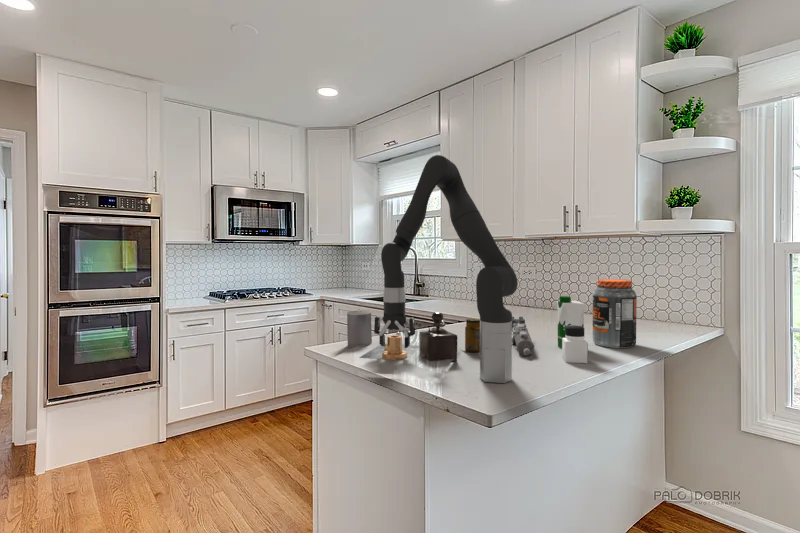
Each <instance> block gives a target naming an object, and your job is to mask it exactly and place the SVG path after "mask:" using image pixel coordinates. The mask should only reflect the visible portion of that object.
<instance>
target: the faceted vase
mask: <svg viewBox="0 0 800 533" xmlns="http://www.w3.org/2000/svg"><path fill="white" fill-rule="evenodd" d="M386 344H387V349H388V350H387V351H384V352H383V353H382V357H383V358H385V359H391V360H390V361H397V360H398V359H405V358H406V357H407V352H406V351H403V350H402V345H403V337H402V335H400V336H397V335H396V334H395V335H388V336H387V343H386ZM406 359H407V358H406ZM406 359H405V360H406Z"/></svg>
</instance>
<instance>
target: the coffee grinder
mask: <svg viewBox="0 0 800 533" xmlns="http://www.w3.org/2000/svg"><path fill="white" fill-rule="evenodd" d="M431 319H432V320H433V323H432V326H433V327H432V328H430V327H428V330H426V331H419V335H418V336H419V337H418V340H419V343H418V344H419V345H418V346H419V348H418V349H419V351H418V352H419V356H421V357H422V359H426V360H427V361H429V362H437V361H446V360H447V361H448V360H451V362H450V363H451V364H452V363H457V362H458V335H457V334H456V333H453V332H450V331H448V330H446V329H445V328H444V327H445V326H446V322H445V321H444V314H443V313H442V312H440V311H434V313H432V314H431Z"/></svg>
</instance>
